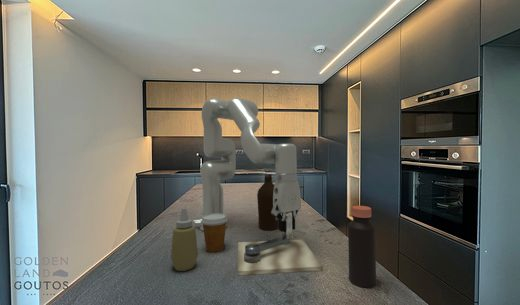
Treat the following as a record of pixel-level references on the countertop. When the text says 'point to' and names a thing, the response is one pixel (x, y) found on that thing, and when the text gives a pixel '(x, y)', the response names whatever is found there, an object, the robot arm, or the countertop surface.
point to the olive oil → (266, 205)
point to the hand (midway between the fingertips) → (287, 229)
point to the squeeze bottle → (184, 244)
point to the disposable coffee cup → (214, 231)
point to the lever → (286, 236)
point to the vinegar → (362, 248)
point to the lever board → (278, 259)
